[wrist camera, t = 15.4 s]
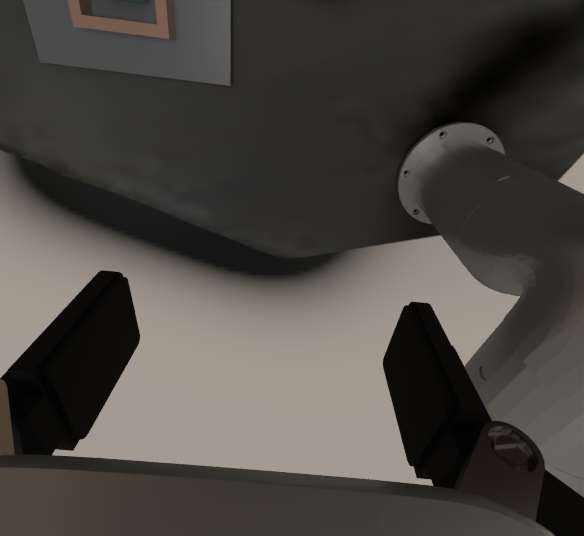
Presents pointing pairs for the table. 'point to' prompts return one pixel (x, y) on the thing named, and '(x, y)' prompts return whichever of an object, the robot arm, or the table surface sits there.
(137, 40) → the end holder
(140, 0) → the block
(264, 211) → the table surface
